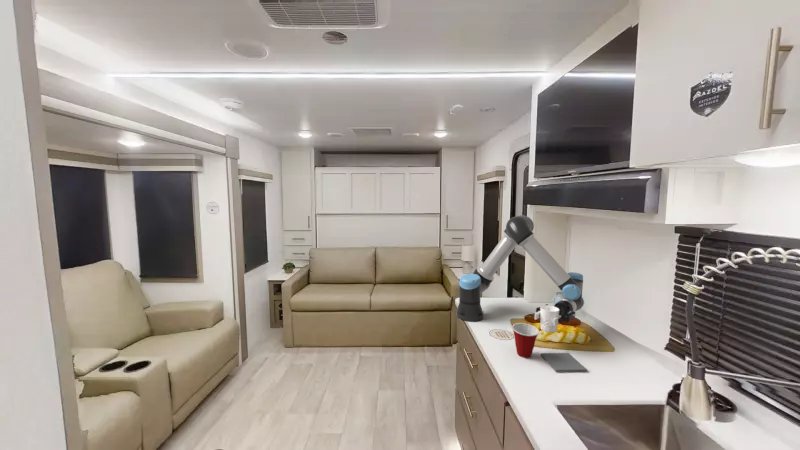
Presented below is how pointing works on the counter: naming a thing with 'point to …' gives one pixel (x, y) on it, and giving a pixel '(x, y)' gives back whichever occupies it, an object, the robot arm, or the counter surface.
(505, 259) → the robot arm
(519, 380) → the counter surface
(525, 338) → the plastic cup
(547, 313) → the white cup
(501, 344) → the counter surface
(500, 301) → the counter surface
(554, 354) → the charcoal mat
